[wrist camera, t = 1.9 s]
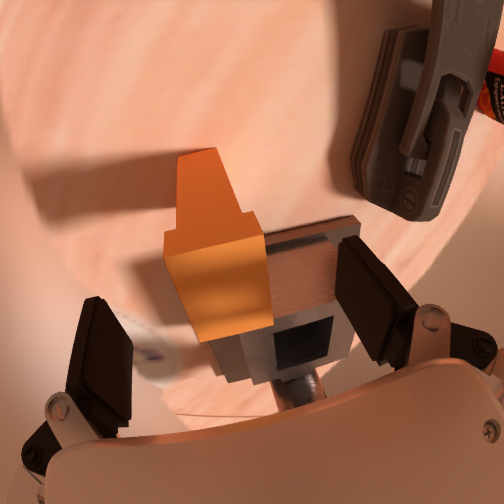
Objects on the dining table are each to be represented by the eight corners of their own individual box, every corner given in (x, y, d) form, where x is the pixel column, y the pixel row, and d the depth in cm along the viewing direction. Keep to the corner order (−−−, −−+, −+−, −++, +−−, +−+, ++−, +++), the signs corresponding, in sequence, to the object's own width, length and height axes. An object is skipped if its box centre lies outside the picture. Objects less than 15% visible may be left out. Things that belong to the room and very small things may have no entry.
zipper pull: (512, -36, 3) (466, 242, 18) (455, -37, 8) (418, 201, 23) (431, -106, 1) (388, 249, 16) (373, -86, 6) (340, 198, 21)
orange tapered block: (171, 151, 16) (163, 257, 8) (219, 140, 16) (263, 234, 8) (187, 212, 19) (200, 342, 11) (230, 202, 19) (274, 325, 11)
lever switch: (178, 255, 21) (232, 589, 4) (353, 215, 22) (518, 453, 6) (226, 374, 33) (267, 539, 16) (334, 344, 34) (401, 492, 18)
